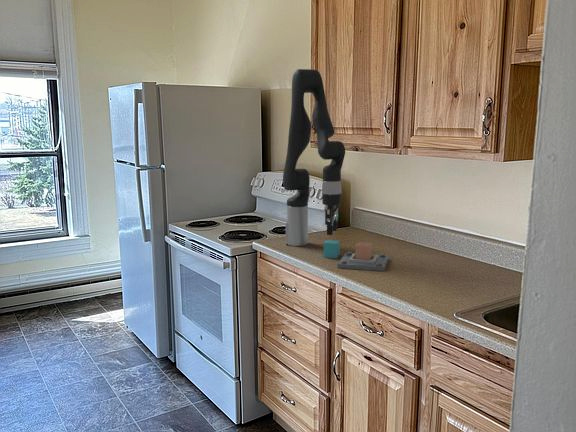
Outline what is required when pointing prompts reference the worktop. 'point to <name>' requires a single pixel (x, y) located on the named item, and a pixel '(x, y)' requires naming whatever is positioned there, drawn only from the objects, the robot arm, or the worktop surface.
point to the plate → (363, 262)
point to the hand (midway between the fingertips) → (331, 232)
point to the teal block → (331, 249)
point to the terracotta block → (363, 251)
